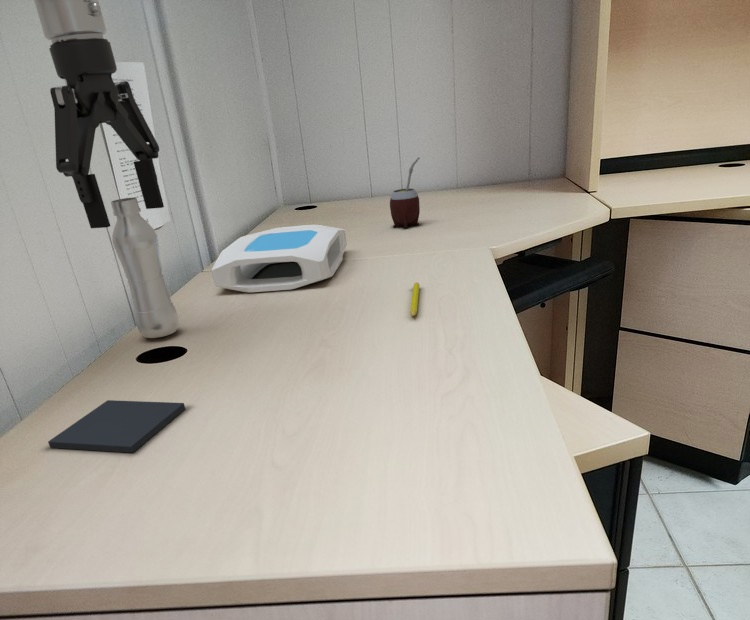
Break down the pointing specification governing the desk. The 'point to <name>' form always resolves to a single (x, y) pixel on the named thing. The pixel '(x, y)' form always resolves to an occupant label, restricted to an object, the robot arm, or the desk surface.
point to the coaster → (117, 426)
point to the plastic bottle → (143, 270)
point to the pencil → (414, 299)
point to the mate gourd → (405, 205)
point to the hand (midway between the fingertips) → (129, 217)
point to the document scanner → (280, 257)
